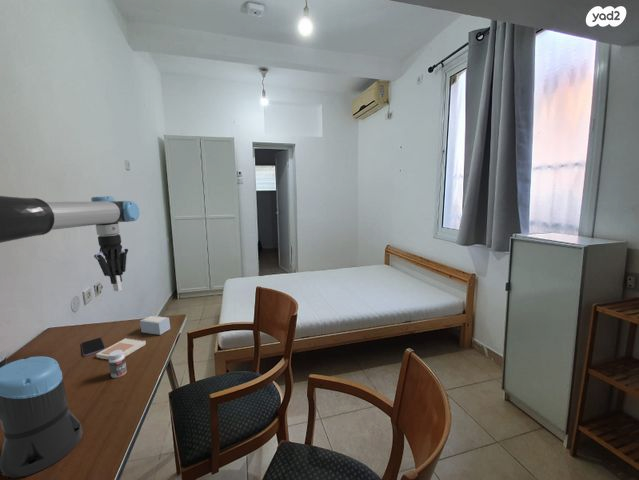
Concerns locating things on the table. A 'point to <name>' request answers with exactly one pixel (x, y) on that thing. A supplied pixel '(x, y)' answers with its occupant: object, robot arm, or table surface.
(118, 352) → the pill bottle
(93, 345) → the smartphone
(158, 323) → the blue framed panel box
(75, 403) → the table surface
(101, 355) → the board
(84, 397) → the table surface
